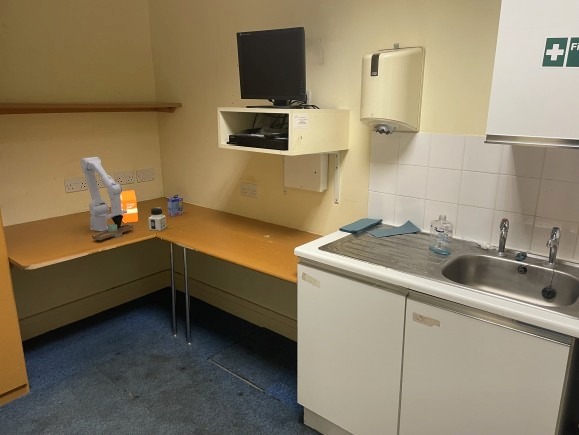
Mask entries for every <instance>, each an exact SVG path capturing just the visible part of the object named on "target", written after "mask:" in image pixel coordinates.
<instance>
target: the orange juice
mask: <svg viewBox="0 0 579 435" xmlns="http://www.w3.org/2000/svg"><path fill="white" fill-rule="evenodd" d="M120 196H121V207H122V210H127V213H125V214H122V215H123V219H122V222H123V223H124V224H127V222H128V223H132V222H133V223H134V222H138V221H139V217H138V216H139V214H138V207H137V205H138V204H137V198H136V193H135V190H134V189H133V190H124V191H123V190H122V193H121V194H120Z"/></svg>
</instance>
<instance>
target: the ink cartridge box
mask: <svg viewBox="0 0 579 435" xmlns="http://www.w3.org/2000/svg"><path fill="white" fill-rule="evenodd" d="M183 198H184V197H182V196H179V194H175V195H173V197H169V198H167V199H166V201H167V202H166V203H167V217H173V218H175V217H177V216H181V214H182V215H184V199H183Z"/></svg>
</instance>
